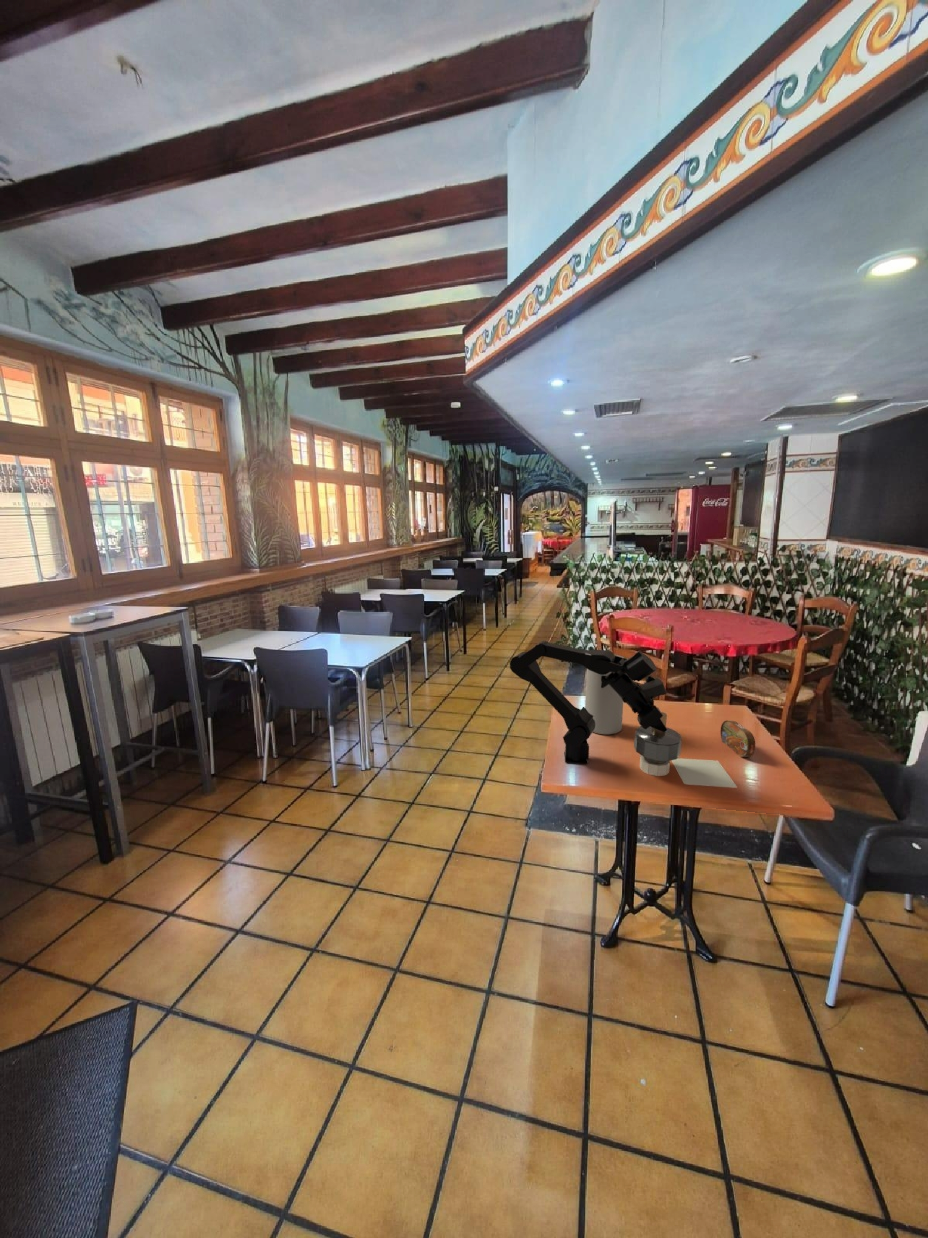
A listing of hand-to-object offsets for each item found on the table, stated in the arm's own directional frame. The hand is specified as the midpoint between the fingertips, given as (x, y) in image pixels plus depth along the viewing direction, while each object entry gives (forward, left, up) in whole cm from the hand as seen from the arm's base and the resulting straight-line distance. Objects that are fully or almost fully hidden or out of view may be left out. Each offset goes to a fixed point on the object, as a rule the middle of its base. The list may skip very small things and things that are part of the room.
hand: (663, 727), depth 139 cm
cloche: (-1, 0, -7) cm, 7 cm away
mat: (+11, 0, -13) cm, 17 cm away
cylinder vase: (-13, +28, -13) cm, 33 cm away
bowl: (-2, 0, -13) cm, 13 cm away
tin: (+26, +16, -13) cm, 33 cm away
